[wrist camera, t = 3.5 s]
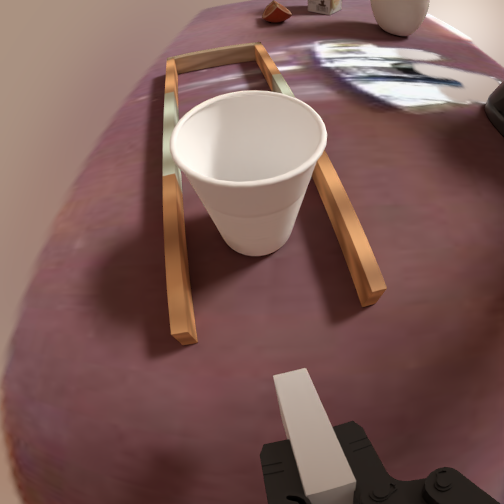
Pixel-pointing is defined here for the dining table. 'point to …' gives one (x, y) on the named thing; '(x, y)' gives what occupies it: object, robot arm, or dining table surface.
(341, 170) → the dining table surface
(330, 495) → the robot arm
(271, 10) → the fruit slice
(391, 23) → the vase
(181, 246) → the track
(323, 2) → the coffee box
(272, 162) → the cup
